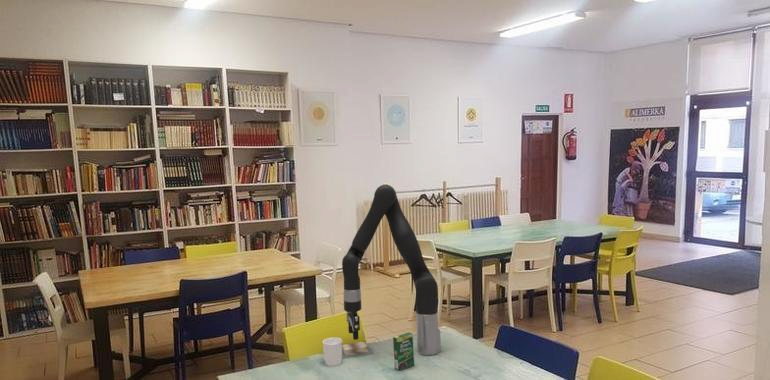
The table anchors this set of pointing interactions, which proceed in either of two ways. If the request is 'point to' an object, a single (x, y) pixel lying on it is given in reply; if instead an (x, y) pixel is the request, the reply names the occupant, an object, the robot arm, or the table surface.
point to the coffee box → (403, 351)
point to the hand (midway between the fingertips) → (353, 336)
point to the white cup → (332, 351)
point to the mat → (358, 354)
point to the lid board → (354, 348)
